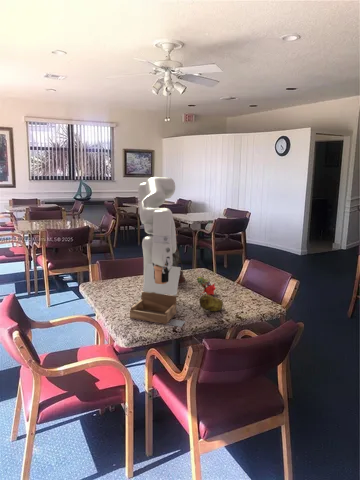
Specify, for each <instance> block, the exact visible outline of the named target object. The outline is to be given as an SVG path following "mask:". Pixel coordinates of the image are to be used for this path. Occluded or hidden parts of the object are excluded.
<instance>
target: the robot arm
mask: <svg viewBox="0 0 360 480" xmlns="http://www.w3.org/2000/svg"><path fill="white" fill-rule="evenodd" d="M137 191H138V199H139V202H140V203H139V209H138V211H139V218H140V222H141V224H142V225H143V227H144V232H145V233H146V234H147V235H148V236H144V237H143V238H142V242H141V247H142V254H143V255H142V256H143V281H144V280H145V275H146V269H147V264H153V269H154V266H155V265H159V266H161V267H162V272H163V273H162V283H164V282H168V279H169V271H170V270H171V268H172V263H173V258H172V254H173V253H175V251H176V242H177V241H176V237H177V236H176V234H177V233H176V224H175V223H176V222H175V220H174V218H173V212H172V211H171V209H170V208H168V207H160V206H162V205H163V204H164V203H165V201H166V200H168V199H170V198H171V197H172V196H173V195H174V194H175V191H176V183H175V180H174V179H173V178H171V177H168V176H167V177H164V176H163V177H160V176H153V177H150V178H147V180H146V182H142V183H140V184H139V185H138V190H137ZM165 265H166V266H165ZM165 267H167V268H166V269H164V268H165ZM154 279H155V269H154ZM143 285H144V283H143ZM141 292H147V291H143V290H142V291H141ZM141 292H140V296H141ZM149 293H152V292H149ZM156 294H162V293H156ZM163 295H166V294H163Z"/></svg>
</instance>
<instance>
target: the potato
mask: <svg viewBox="0 0 360 480" xmlns="http://www.w3.org/2000/svg"><path fill="white" fill-rule="evenodd" d="M198 301H199V307H200V308H202V309H203V310H207V311H210V312H218V311H220V310H221V309H222V308H223V307H224V302H223V300H221V299H220V298H218V297H214V295H207V294H204V295H200V298H199V299H198Z"/></svg>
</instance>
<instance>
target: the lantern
mask: <svg viewBox="0 0 360 480" xmlns="http://www.w3.org/2000/svg"><path fill="white" fill-rule="evenodd" d="M178 236H179V234H178V233H176V251H175V253H173V254H172V258H173V263H172V266H173V267H179V264H180V265H181V270H180V276H179V282H178V284H181V283H184V282H185V281H186V277H185V276H184V269H183V263H182V261H181V260H182V257H181V254H180V251H179V248H178V247H177V245H179V242H178V241H177V240H178Z"/></svg>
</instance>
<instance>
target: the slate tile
mask: <svg viewBox="0 0 360 480" xmlns="http://www.w3.org/2000/svg"><path fill="white" fill-rule="evenodd" d="M185 323H186V320H180V319H172V318H171V319H170V320H169V322H168V324H167V325H168V326H174V327H179V328H182V327H183V326H184V324H185Z"/></svg>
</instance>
